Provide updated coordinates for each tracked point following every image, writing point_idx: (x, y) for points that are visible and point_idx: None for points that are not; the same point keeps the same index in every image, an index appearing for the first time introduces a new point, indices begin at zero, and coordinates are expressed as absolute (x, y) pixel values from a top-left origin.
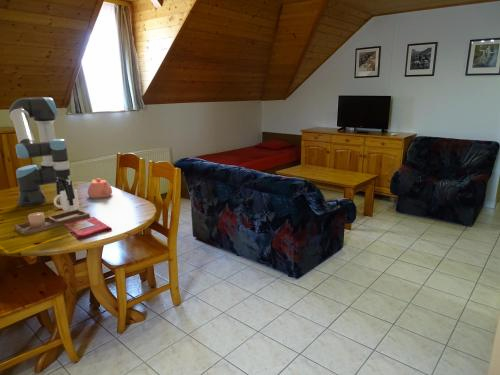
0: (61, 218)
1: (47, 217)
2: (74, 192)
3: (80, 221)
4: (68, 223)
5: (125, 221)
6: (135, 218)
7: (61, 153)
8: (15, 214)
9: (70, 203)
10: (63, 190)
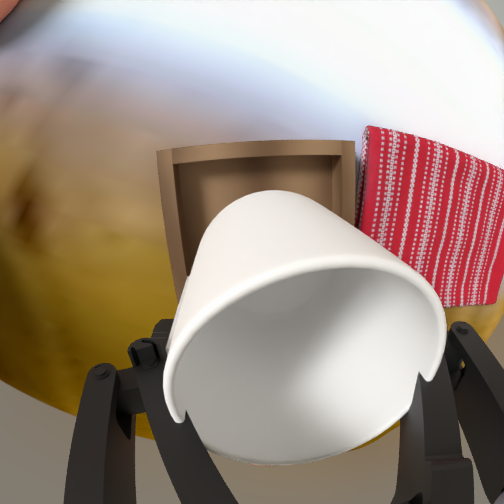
0: None
1: None
2: (441, 329)
3: (377, 229)
4: None
5: (485, 75)
6: (477, 30)
7: None
8: (21, 373)
9: None
10: (195, 430)
